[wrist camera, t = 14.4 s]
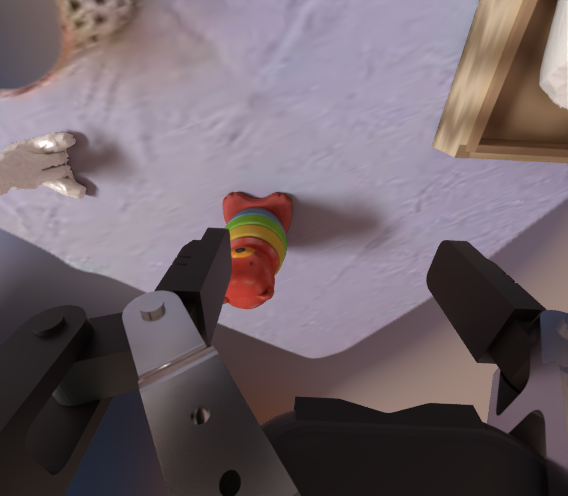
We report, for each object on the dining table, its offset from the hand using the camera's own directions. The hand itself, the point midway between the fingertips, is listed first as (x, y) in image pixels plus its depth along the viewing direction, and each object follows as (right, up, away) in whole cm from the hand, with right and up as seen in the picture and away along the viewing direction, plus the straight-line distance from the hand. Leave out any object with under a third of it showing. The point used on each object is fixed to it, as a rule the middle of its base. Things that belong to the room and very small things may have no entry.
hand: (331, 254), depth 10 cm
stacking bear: (-6, +5, +33) cm, 34 cm away
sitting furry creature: (-36, +13, +29) cm, 47 cm away
